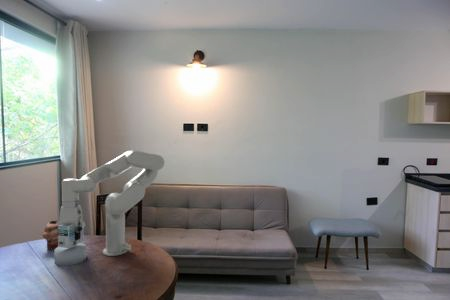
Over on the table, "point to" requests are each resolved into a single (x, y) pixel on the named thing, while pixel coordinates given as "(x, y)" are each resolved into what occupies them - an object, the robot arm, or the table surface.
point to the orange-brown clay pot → (51, 235)
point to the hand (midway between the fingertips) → (71, 238)
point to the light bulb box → (68, 236)
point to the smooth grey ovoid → (70, 255)
